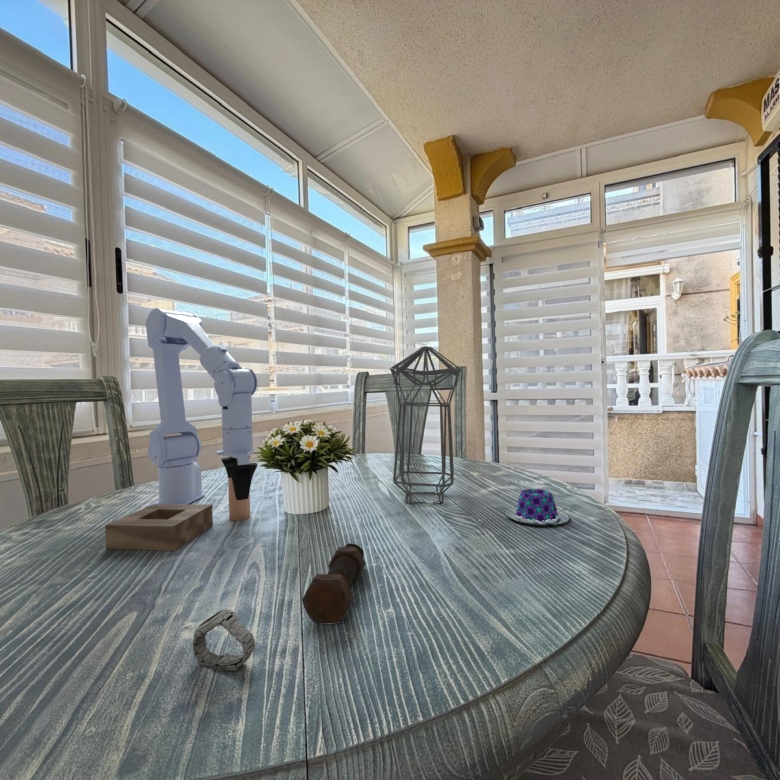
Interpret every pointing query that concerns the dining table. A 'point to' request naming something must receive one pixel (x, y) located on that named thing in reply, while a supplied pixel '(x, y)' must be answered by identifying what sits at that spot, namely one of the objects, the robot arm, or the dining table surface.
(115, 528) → the socket block
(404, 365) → the geometric lantern
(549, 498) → the pudding
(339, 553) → the bolt
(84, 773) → the dining table surface
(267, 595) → the dining table surface
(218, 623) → the wristwatch
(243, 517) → the peg
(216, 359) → the robot arm
